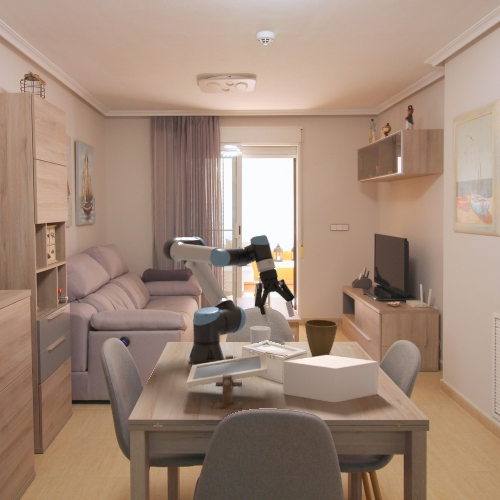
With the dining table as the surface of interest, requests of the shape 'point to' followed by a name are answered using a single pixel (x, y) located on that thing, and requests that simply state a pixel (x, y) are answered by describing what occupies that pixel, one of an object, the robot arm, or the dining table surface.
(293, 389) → the block
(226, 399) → the walnut stand
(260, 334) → the candle holder
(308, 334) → the plant pot
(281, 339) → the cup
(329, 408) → the dining table surface
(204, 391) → the dining table surface
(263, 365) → the tilted frame
